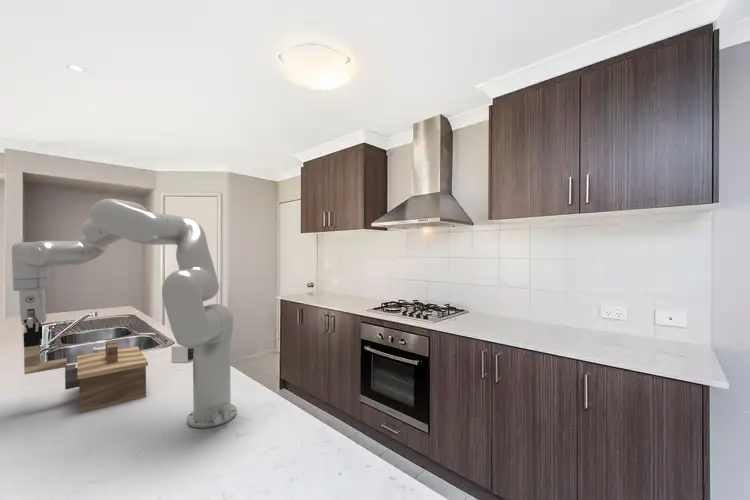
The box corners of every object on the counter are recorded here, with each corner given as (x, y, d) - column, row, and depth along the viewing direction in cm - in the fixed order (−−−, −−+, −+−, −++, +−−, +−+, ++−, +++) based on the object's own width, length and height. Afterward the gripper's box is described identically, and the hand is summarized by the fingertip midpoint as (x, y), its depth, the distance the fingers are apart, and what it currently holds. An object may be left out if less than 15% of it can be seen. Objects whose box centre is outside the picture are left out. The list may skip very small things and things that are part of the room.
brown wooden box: (146, 396, 110) (145, 362, 110) (64, 416, 97) (64, 377, 97) (136, 377, 126) (136, 347, 126) (66, 392, 113) (65, 359, 113)
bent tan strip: (66, 367, 104) (66, 340, 104) (24, 374, 98) (24, 346, 98) (66, 364, 106) (66, 338, 106) (25, 371, 101) (25, 344, 100)
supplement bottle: (104, 363, 141) (104, 339, 141) (113, 365, 139) (113, 340, 139) (89, 368, 136) (89, 342, 136) (98, 370, 134) (98, 343, 134)
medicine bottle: (188, 362, 142) (188, 334, 142) (171, 362, 142) (171, 334, 142) (197, 357, 149) (197, 329, 149) (181, 357, 149) (181, 329, 149)
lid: (147, 365, 110) (147, 346, 110) (77, 379, 98) (77, 357, 98) (137, 349, 127) (137, 333, 127) (77, 359, 116) (76, 341, 116)
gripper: (47, 285, 96) (49, 346, 96) (50, 281, 109) (52, 335, 109) (8, 287, 91) (10, 351, 91) (16, 283, 104) (18, 340, 104)
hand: (33, 342), depth 100 cm, fingers open, 9 cm apart
